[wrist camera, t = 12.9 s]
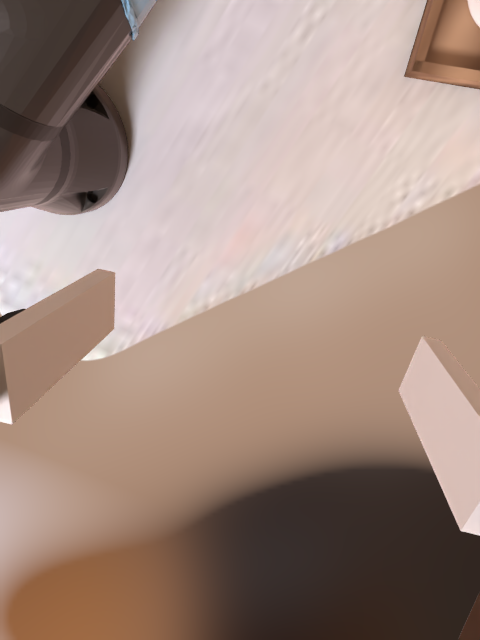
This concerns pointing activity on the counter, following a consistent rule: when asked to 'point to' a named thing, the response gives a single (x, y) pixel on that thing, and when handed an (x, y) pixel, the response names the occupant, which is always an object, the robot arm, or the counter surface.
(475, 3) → the mug
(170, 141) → the counter surface
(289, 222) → the counter surface
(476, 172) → the counter surface
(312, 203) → the counter surface
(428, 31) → the tray
